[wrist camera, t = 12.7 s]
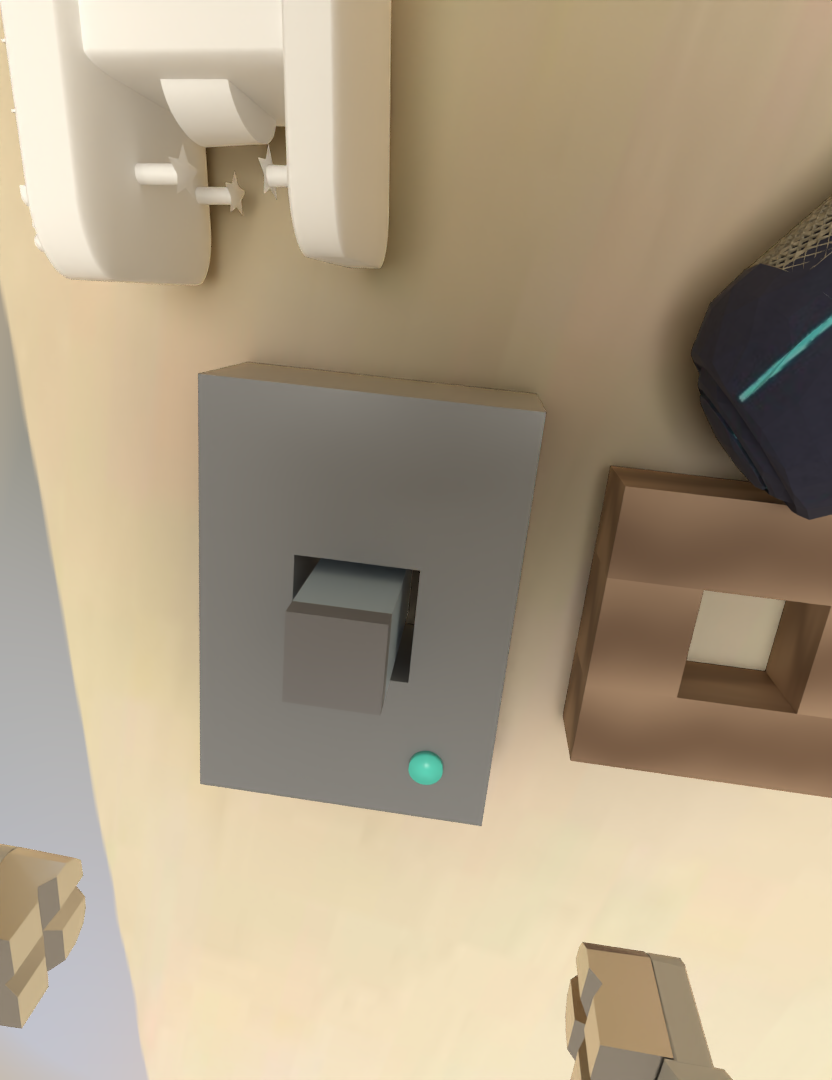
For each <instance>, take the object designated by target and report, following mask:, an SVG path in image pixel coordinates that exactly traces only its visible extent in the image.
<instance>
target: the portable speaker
mask: <svg viewBox="0 0 832 1080" xmlns="http://www.w3.org/2000/svg"><path fill="white" fill-rule="evenodd" d="M817 226H818V227H817ZM816 227H817V228H816ZM691 356H692V359H693V361H694V363H695V365H696V368H697V370H698V372H699V374H700V375H699V378H698V388H699V391H700V394H701V395H700V402H701V406H702V408H703V410H704V412H705V415H706V417H707V419H708V421H709V423H710V425H711V428H712V430H713V432H714V434H715V436H716V438H717V439H718V441H719V442H720V444H721V445H722V447H723V448H724V449H725V451H726V452H727V454H728V455H729V457H730V458H731V459H732V461H733V462H734V464H735V465H736V466H737V468H738V469H739V470H740V471H741V472H742V473H743V474H744V475H745V476H746V477H747V479H748V480H749V481H750V482H751V483H752V484H753V485H754V486H755V487H757V488H759V489H761V490H765V491H766V492H767V493H768V494H769V495H771V496H773V497H775V498H777V499H779V500H782V501H784V502H785V504H786V505H787V506H788V507H789V509H790V510H791V511H792V512H794V513H795V514H797V515H799V516H801V517H803V518H806V519H808V520H812V519H816V518H820V517H824V516H828V515H832V196H831V197H829V198H828V199H827V200H825V201H824V202H823V203H822V204H821V205H820V206H819V207H818V208H816V209H815V210H814V211H813V212H812V213H811V214H810V215H809V216H807V217H806V218H805V219H804V220H802V221H801V222H800V223H799V224H798V225H797V226H796V227H795V228H793V229H792V230H791V231H790V232H789V233H788V234H787V235H786V236H784V237H783V238H782V239H781V240H780V241H779V242H778V243H777V244H775V245H774V246H773V247H771V248H770V249H769V250H768V251H767V252H766V253H765V254H764V255H762V256H761V257H760V258H759V259H758V260H757V261H756V262H755V263H753V264H752V265H751V266H749V268H748V269H745V270H744V271H743V272H742V273H741V274H740V275H739V276H738V277H737V278H736V279H735V280H734V281H733V282H732V283H731V284H730V285H729V286H728V287H726V288H725V289H724V290H723V291H722V292H721V293H720V294H719V295H718V296H717V297H716V298H715V299H714V300H713V301H712V302H711V303H710V305H709V307H708V310H707V312H706V315H705V317H704V320H703V322H702V325H701V327H700V330H699V333H698V335H697V338H696V340H695V343H694V345H693V348H692V351H691Z"/></svg>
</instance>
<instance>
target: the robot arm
mask: <svg viewBox="0 0 832 1080" xmlns="http://www.w3.org/2000/svg"><path fill="white" fill-rule="evenodd" d="M82 876H83V872H82V865H81V860H79V859H76V858H72V857H67V856H62V855H57V854H52V853H47V852H42V851H37V850H31V849H27V848H22V847H15V846H10V845H4V844H0V1025H2V1026H9V1027H15V1028H22V1027H23V1026H24V1024H25V1023H26V1021H27V1020H28V1018H29V1016H30V1015H31V1013H32V1012H33V1010H34V1009H35V1007H36V1005H37V1004H38V1002H39V1001H40V999H41V998H42V996H43V994H44V993H45V991H46V990H47V988H48V974H47V971H49V970H51V969H52V968H54V967H55V966H57V965H58V964H60V963H61V962H63V961H64V960H66V958H67V956H68V955H69V953H70V951H71V950H72V948H73V946H74V945H75V943H76V941H77V938H78V935H79V933H80V930H81V928H82V925H83V922H84V915H85V909H86V906H85V896H84V895H83V894H82V893H81V891H80V890H79V889H78V887H76V885H77V884H78V882H79V881H80V879H81V878H82ZM576 964H577V973H578V975H577V976H575V977H574V978H572V979H571V980H570V985H569V989H568V994H567V1003H566V1014H565V1018H566V1040H567V1049H568V1051H569V1052H570V1054H571V1055H572V1057H573V1058H574V1060H575V1064H574V1068H573V1072H572V1076H571V1080H732V1078H731V1077H730V1076H729V1075H728V1074H727V1072H726V1071H725V1070H724V1069H719V1068H715V1067H714V1066H713V1063H712V1059H711V1055H710V1052H709V1048H708V1045H707V1041H706V1038H705V1034H704V1031H703V1027H702V1024H701V1020H700V1017H699V1013H698V1010H697V1006H696V1003H695V999H694V996H693V992H692V989H691V985H690V982H689V978H688V974H687V971H686V967H685V964H684V963H683V962H682V960H681V959H680V958H676V957H670V956H664V955H658V954H652V953H645V952H643V951H637V950H630V949H624V948H617V947H611V946H604V945H598V944H591V943H585V942H582V944H581V945H580V947H579V950H578V953H577V957H576Z"/></svg>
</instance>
